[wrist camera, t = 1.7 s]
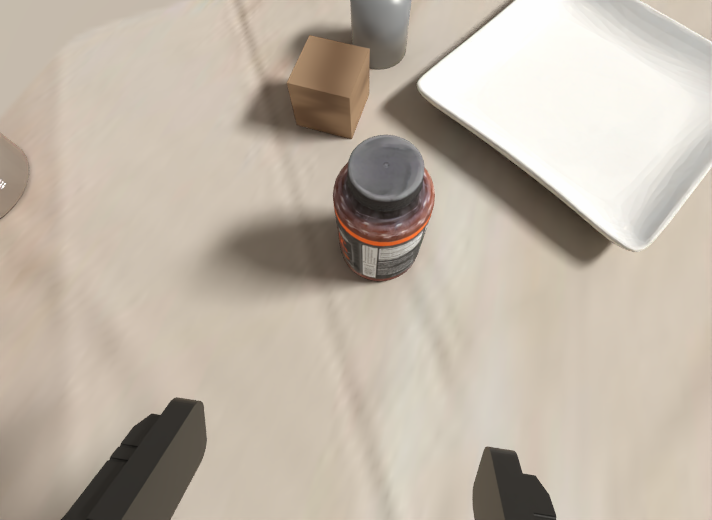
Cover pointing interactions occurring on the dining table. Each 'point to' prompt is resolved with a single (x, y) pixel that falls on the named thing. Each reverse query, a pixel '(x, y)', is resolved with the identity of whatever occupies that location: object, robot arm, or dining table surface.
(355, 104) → the walnut cube
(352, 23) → the grey cylinder
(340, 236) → the supplement bottle
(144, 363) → the dining table surface
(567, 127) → the salad plate
